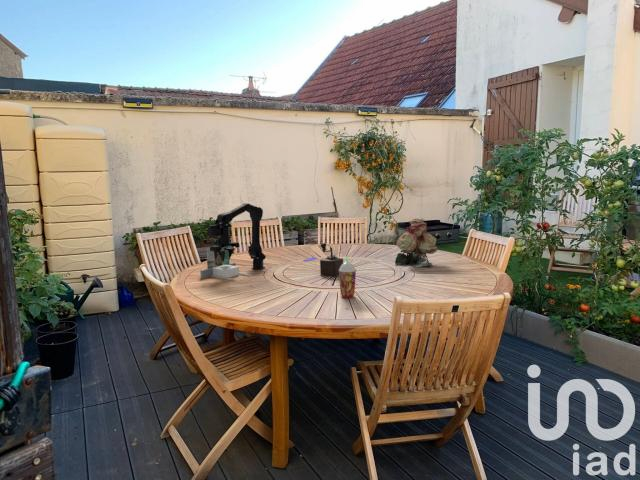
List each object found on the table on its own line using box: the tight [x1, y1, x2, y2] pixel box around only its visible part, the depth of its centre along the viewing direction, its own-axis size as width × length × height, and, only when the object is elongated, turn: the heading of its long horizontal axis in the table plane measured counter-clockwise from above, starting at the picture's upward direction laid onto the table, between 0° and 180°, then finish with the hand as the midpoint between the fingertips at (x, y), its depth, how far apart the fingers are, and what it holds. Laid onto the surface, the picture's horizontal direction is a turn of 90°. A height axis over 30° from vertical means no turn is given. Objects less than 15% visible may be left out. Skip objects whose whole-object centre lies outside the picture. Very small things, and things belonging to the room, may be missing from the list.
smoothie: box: [338, 256, 357, 299], centre depth 214 cm, size 8×8×20 cm
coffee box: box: [205, 245, 223, 269], centre depth 276 cm, size 9×6×16 cm
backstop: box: [200, 262, 251, 282], centre depth 262 cm, size 26×21×5 cm
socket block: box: [213, 265, 240, 278], centre depth 264 cm, size 11×11×5 cm
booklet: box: [303, 256, 319, 262], centre depth 303 cm, size 12×25×1 cm, turn 54°
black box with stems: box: [319, 242, 344, 278], centre depth 263 cm, size 16×11×18 cm
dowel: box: [223, 249, 230, 265], centre depth 262 cm, size 4×4×8 cm
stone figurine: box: [394, 218, 438, 268], centre depth 286 cm, size 26×29×30 cm
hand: (225, 260), depth 263 cm, fingers closed on dowel, 4 cm apart
